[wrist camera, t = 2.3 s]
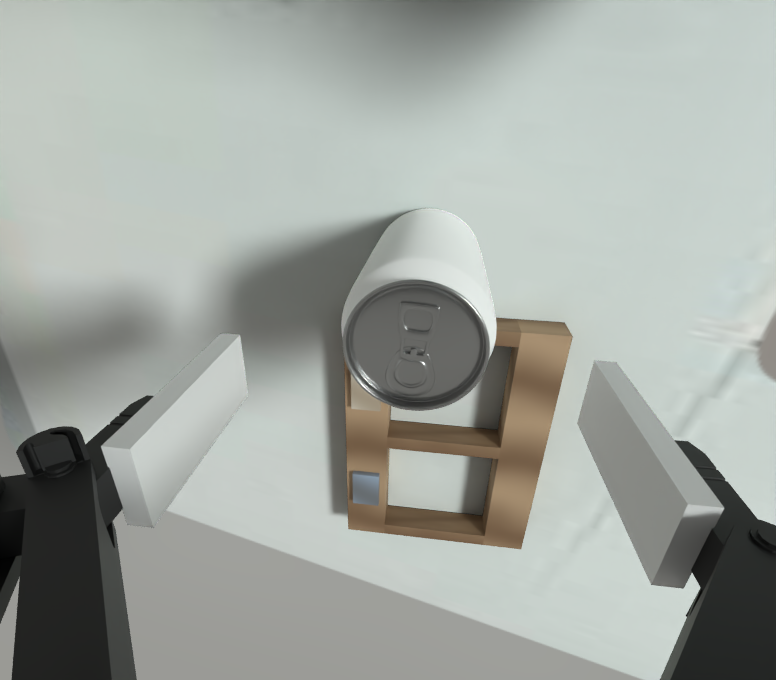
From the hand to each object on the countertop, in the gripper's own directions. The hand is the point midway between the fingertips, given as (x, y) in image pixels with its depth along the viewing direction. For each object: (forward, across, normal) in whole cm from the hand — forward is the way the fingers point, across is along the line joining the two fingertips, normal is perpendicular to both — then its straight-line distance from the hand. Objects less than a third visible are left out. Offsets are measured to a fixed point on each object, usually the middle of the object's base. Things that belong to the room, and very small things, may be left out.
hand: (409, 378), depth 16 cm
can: (+13, 0, +1) cm, 13 cm away
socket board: (+13, +2, -12) cm, 18 cm away
